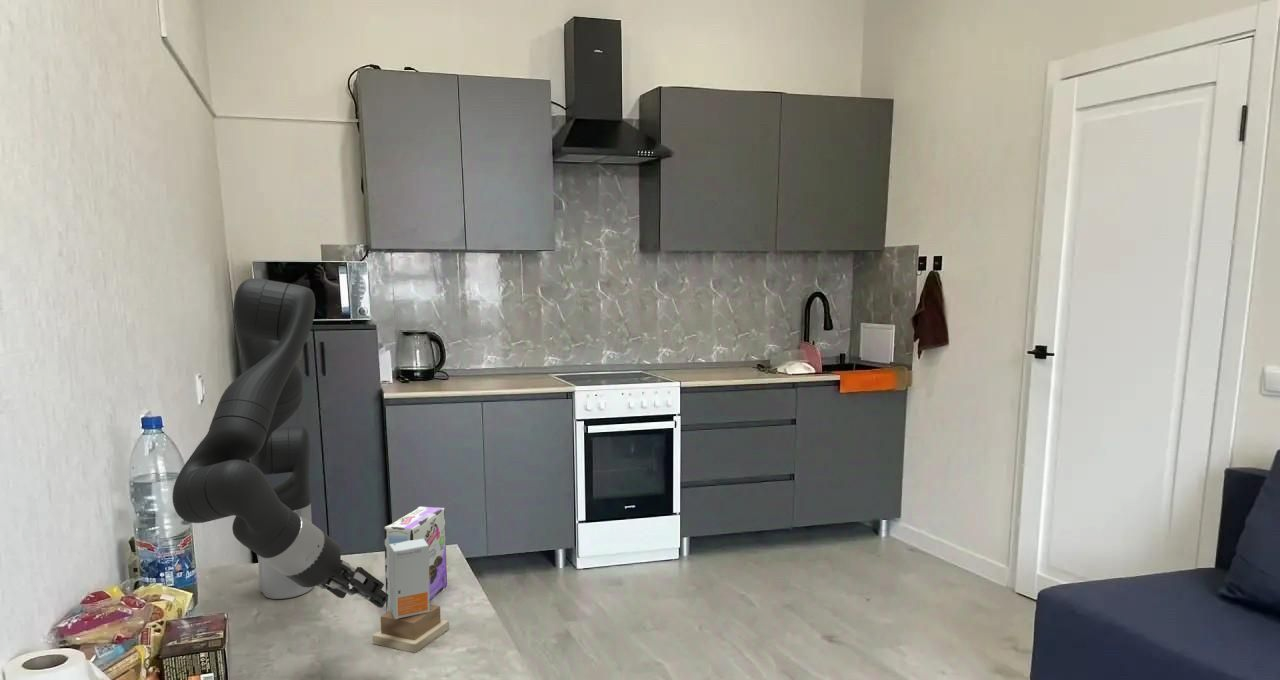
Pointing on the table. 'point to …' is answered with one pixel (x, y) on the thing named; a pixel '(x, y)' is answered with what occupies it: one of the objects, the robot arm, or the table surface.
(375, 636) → the plinth
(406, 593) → the skincare box
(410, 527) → the candy box
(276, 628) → the table surface
